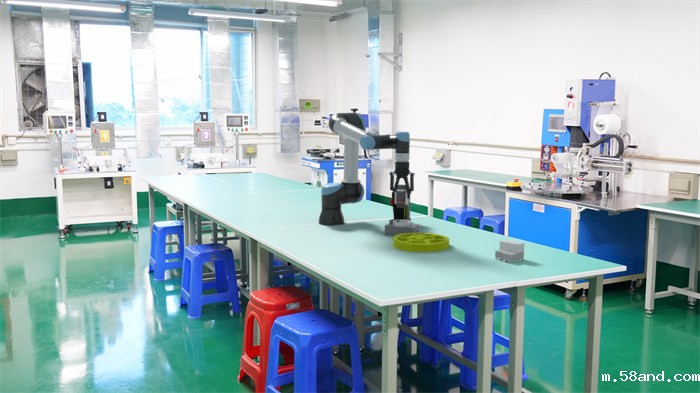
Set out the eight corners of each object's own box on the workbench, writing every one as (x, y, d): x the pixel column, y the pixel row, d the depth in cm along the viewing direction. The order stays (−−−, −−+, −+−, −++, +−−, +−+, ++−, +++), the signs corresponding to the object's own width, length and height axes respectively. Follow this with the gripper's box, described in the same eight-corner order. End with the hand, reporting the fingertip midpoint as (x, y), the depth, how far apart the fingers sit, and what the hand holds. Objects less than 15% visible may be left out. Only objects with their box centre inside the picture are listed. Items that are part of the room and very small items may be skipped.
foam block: (492, 260, 286) (493, 242, 284) (505, 256, 293) (505, 239, 292) (511, 264, 279) (512, 246, 278) (523, 260, 286) (524, 242, 285)
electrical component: (407, 227, 360) (408, 192, 357) (390, 226, 362) (390, 192, 359) (411, 221, 377) (411, 188, 374) (394, 221, 379) (394, 188, 376)
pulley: (383, 243, 320) (383, 233, 320) (430, 238, 331) (431, 229, 331) (409, 255, 295) (409, 244, 294) (460, 249, 306) (460, 239, 305)
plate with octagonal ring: (384, 234, 339) (384, 221, 338) (391, 231, 349) (391, 218, 348) (412, 237, 333) (413, 224, 332) (419, 233, 343) (419, 220, 342)
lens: (395, 207, 337) (395, 185, 335) (398, 206, 342) (398, 184, 340) (404, 208, 335) (404, 186, 333) (407, 206, 340) (408, 184, 338)
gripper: (383, 160, 335) (383, 203, 339) (416, 162, 328) (415, 206, 331) (388, 159, 342) (388, 201, 345) (420, 161, 334) (420, 204, 338)
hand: (401, 203), depth 338 cm, fingers closed on lens, 5 cm apart
